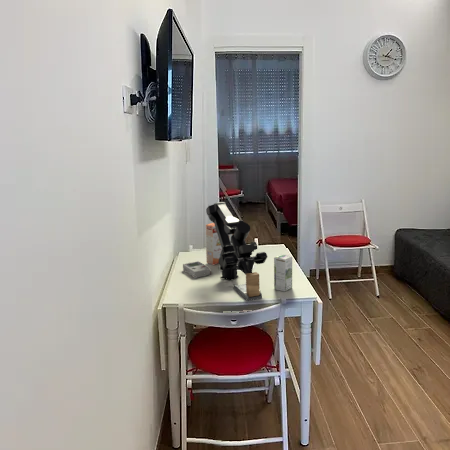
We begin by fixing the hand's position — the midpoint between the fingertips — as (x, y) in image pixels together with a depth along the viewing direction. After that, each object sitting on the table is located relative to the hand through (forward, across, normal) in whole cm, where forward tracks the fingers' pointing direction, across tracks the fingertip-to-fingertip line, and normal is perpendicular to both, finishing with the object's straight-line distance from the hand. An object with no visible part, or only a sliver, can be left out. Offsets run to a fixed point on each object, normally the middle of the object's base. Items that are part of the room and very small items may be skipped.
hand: (250, 278), depth 179 cm
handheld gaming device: (-23, -12, +35) cm, 44 cm away
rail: (+3, 0, +9) cm, 9 cm away
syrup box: (+4, +16, +8) cm, 18 cm away
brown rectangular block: (+6, 0, +3) cm, 7 cm away
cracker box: (-32, +4, +44) cm, 54 cm away
